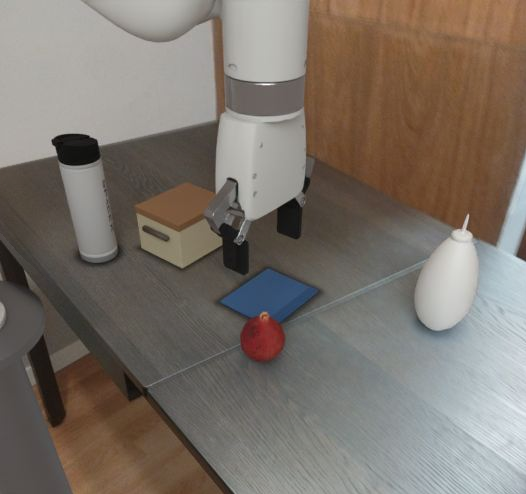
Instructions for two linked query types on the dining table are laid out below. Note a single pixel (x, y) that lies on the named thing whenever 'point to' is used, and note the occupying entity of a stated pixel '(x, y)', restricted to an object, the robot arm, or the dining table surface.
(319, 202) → the dining table surface
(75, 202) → the travel mug
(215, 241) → the bin
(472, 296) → the white air blower bulb
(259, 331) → the red pomegranate
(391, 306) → the dining table surface
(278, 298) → the cloth
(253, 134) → the robot arm
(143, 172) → the dining table surface
